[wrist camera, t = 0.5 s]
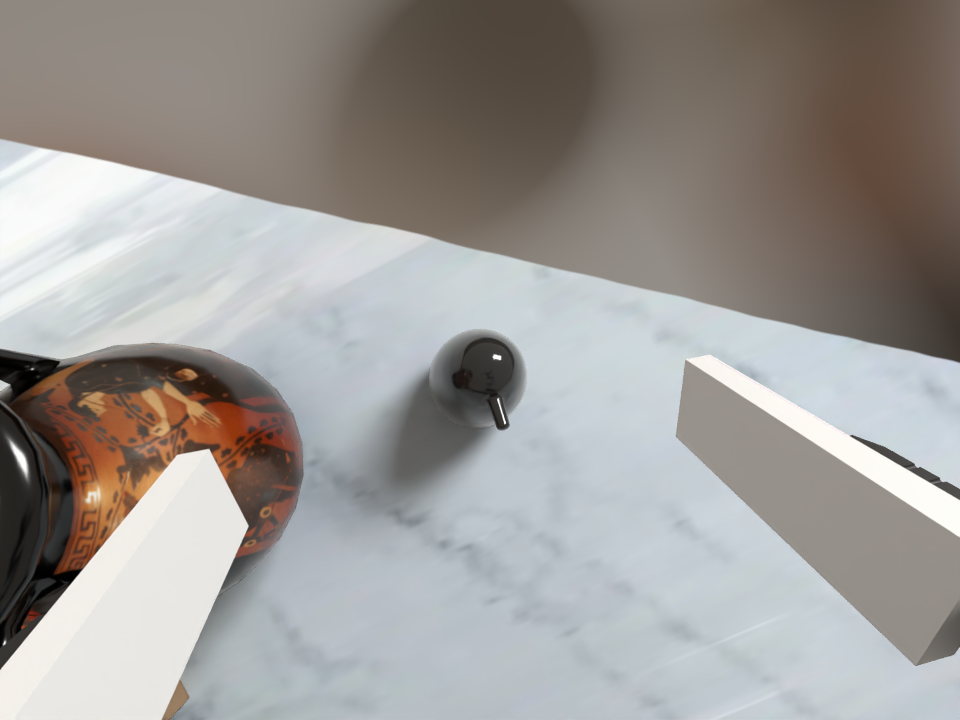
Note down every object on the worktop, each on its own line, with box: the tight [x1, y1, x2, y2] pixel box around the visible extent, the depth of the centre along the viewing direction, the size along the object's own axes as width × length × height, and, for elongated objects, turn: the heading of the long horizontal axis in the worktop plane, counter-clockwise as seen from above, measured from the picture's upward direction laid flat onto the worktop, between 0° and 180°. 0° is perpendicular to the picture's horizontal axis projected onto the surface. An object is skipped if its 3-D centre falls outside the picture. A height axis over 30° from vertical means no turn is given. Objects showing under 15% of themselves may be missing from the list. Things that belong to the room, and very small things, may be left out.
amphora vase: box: [0, 343, 303, 648], centre depth 28 cm, size 22×22×28 cm
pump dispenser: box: [429, 329, 527, 431], centre depth 39 cm, size 10×10×15 cm
